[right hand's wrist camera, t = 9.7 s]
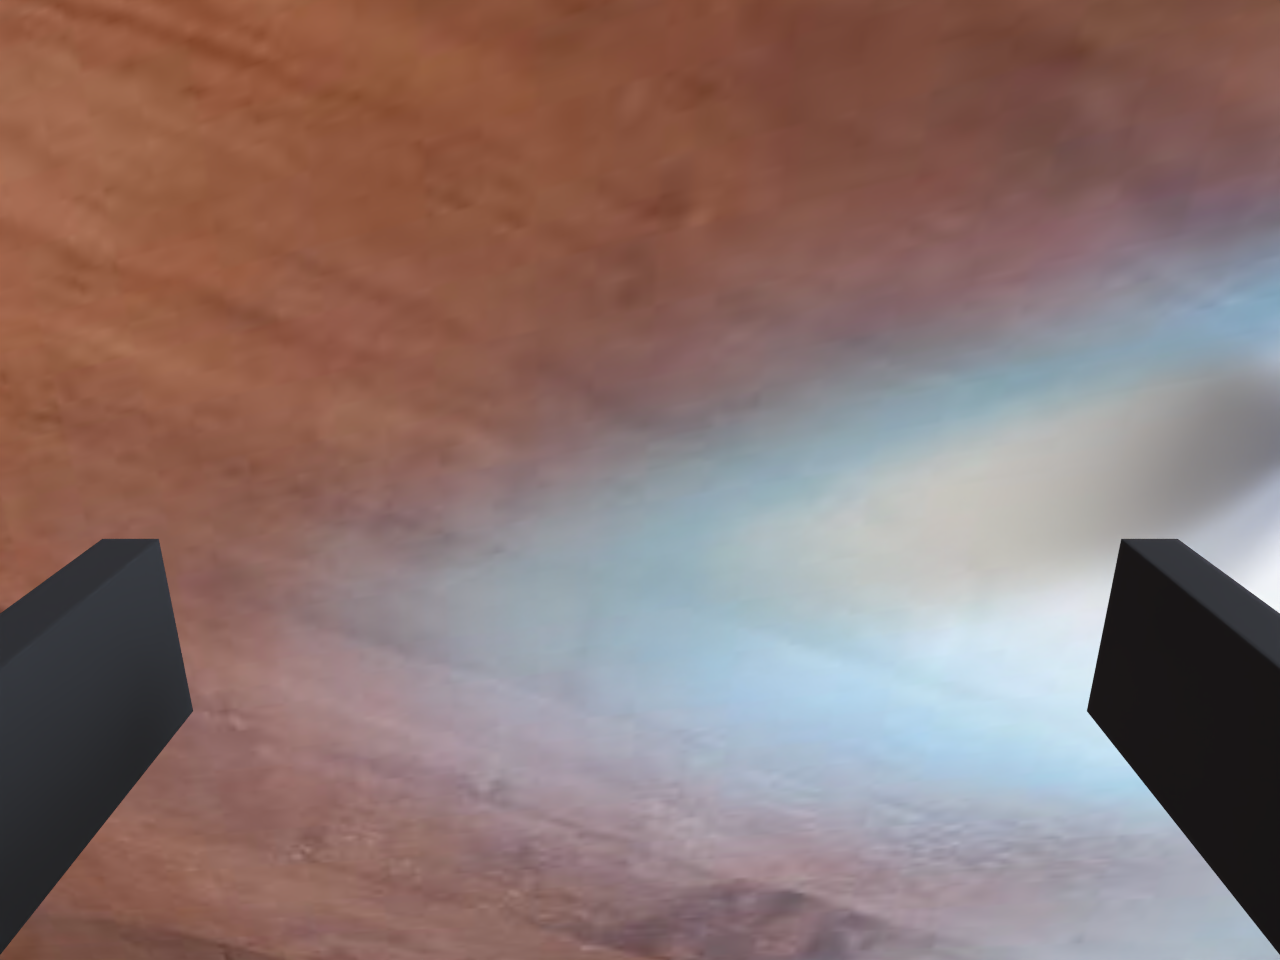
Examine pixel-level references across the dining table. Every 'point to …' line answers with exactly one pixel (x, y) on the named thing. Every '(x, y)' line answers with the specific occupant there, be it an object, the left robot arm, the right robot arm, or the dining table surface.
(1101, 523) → the dining table surface
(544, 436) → the dining table surface
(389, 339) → the dining table surface
